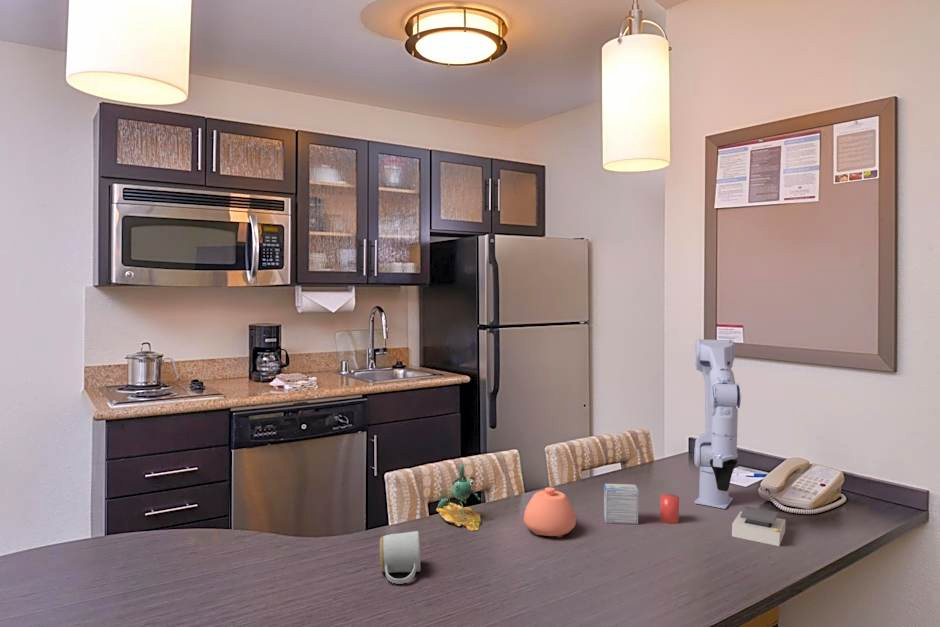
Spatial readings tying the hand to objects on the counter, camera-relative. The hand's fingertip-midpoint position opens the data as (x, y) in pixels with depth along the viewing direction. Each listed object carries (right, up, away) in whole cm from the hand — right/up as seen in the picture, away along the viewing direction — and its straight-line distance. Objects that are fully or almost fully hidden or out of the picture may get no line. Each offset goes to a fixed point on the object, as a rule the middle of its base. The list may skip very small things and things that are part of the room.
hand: (722, 490), depth 152 cm
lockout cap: (-11, -9, +5) cm, 15 cm away
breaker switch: (+7, -8, -3) cm, 11 cm away
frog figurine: (-63, -9, +6) cm, 64 cm away
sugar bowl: (-42, -9, -1) cm, 43 cm away
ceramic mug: (-74, -10, -25) cm, 79 cm away
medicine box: (-23, -9, +5) cm, 26 cm away
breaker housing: (+7, -10, -3) cm, 12 cm away
